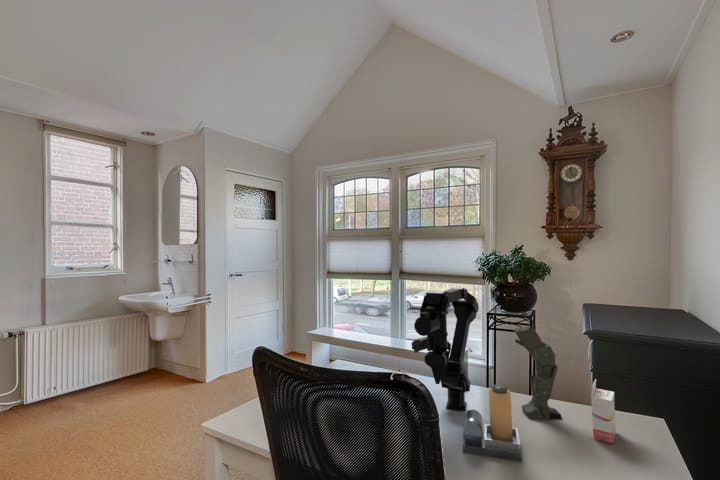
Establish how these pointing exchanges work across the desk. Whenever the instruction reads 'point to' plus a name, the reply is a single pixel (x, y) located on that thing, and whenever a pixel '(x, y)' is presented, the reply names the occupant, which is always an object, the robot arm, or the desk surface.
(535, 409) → the mechanical leg
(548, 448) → the desk surface
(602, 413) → the ink cartridge box
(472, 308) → the robot arm
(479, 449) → the motor mount
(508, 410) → the bottle
